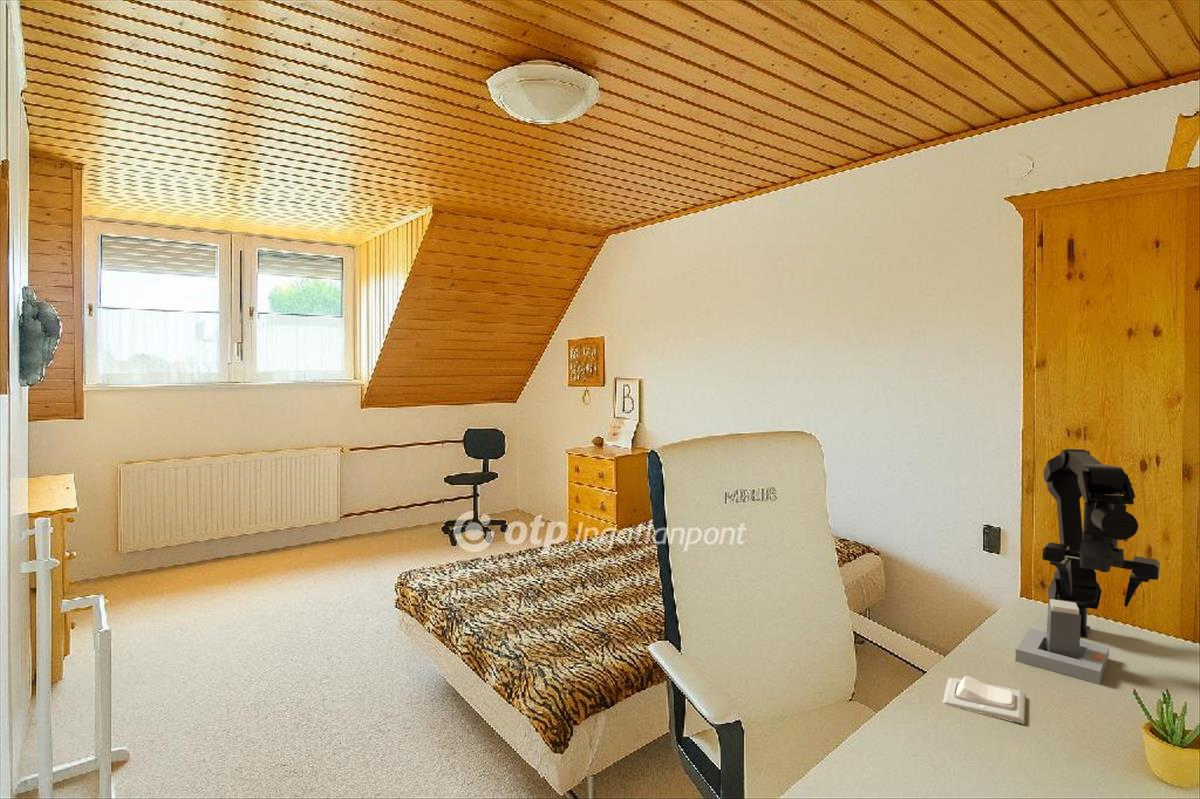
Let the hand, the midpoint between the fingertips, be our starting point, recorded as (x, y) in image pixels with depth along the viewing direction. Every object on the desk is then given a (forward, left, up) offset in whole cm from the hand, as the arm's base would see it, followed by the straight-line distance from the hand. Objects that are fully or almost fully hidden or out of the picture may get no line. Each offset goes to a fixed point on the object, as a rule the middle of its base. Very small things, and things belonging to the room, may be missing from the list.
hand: (1097, 600), depth 132 cm
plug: (+4, -5, -13) cm, 14 cm away
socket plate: (+4, -5, -13) cm, 14 cm away
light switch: (+32, -13, -14) cm, 38 cm away
